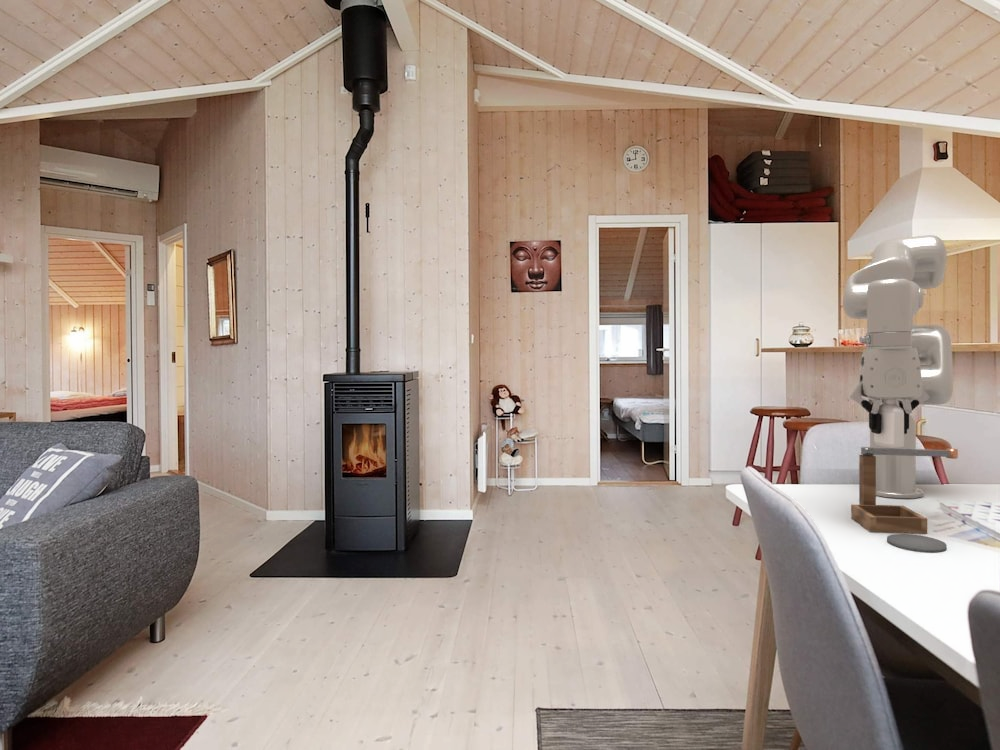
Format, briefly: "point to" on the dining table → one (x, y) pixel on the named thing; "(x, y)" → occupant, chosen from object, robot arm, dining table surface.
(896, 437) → the eye dropper bottle
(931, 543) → the mat
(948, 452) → the ball-tipped grey rod
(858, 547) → the dining table surface
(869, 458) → the wooden frame with post
